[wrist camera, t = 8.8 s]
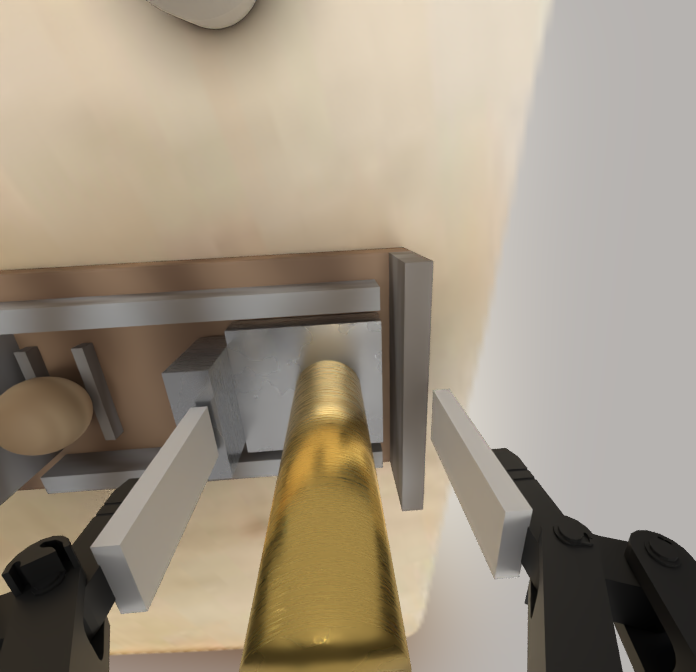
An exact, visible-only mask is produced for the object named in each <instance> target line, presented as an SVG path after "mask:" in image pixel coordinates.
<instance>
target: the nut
mask: <svg viewBox="0 0 696 672" xmlns="http://www.w3.org/2000/svg"><path fill="white" fill-rule="evenodd" d="M92 415H93V404H92V400H91V398H90V396H89V394H88V393H87V392H86V390H85V389H84V388H83V387H81V386H80V385H79V384H77V383H75V382H73V381H71V380H68V379H65V378H60V377H37V378H32V379H29V380H25V381H23V382H20V383H18V384H16V385H14V386H12V387H11V388H9V389H8V390H6V391H5V392H4V393H3V394H2V395H1V396H0V446H1V447H2V448H4V449H6V450H8V451H10V452H12V453H16V454H20V455H31V456H34V455H44V454H49V453H52V452H56V451H58V450H61V449H63V448H65V447H67V446H69V445H70V444H72V443H73V442H75V441H76V440H77V439H78V438H79V437H80V436H81V435H82V434H83V433H84V432H85V431H86V429H87V428H88V426H89V424H90V422H91V419H92Z"/></svg>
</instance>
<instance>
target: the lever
mask: <svg viewBox="0 0 696 672" xmlns="http://www.w3.org/2000/svg"><path fill="white" fill-rule="evenodd" d="M224 333H225V336H213V337H199V338H198V339H197V340H196V341H195V342H194V343H193V344H192V345H191V346H190V347H189V348H188V349H187V350H186V351H185V352H184V353H182V354H181V355H180V356H179V357H178V358H177V359H176V360H175V361H174V362H173V363H172V364H171V365H170V366H169V367H168V368H167V369H166V370H165V371H164V372H162V373H161V374H162V377H163V381H164V385H165V388H166V392H167V395H168V399H169V402H170V406H171V409H172V413H173V416H174V420H175V423H176V427H177V425H178V424H179V423H180V421H181V420H182V418H183V417H184V416H185V414H186V413H187V412H188V410H189V409H190V408H192V407H205V406H207V407H208V411H209V415H210V420H211V424H212V428H213V432H214V437H215V441H216V445H217V449H218V454H219V456H218V458H217V460H216V463H215V465H214V467H213V469H212V471H211V474H210V476H209V478H208V480H213V479H226V478H233V475H234V472H235V470H236V467H237V464H238V461H239V459H240V456H241V453H242V451H243V448H244V445H245V442H246V445H247V450H248V452H262V451H275V450H283V452H282V457H281V462H280V467H279V472H278V477H277V482H276V487H275V492H274V497H273V502H272V508H271V513H270V518H269V523H268V528H267V533H266V538H265V543H264V548H263V553H262V558H261V563H260V568H259V573H258V578H257V583H256V588H255V593H254V598H253V603H252V608H251V613H250V618H249V624H248V629H247V634H246V639H245V644H244V649H243V654H242V659H241V664H240V669H239V672H411V664H410V658H409V653H408V647H407V641H406V636H405V630H404V625H403V619H402V614H401V608H400V602H399V597H398V591H397V586H396V580H395V575H394V569H393V563H392V558H391V552H390V547H389V541H388V536H387V530H386V524H385V519H384V513H383V508H382V502H381V497H380V491H379V485H378V480H377V474H376V469H375V463H374V458H373V452H372V446H371V443H380V442H383V401H382V334H381V319H380V317H379V315H378V313H377V312H375V313H359V314H343V315H328V316H312V317H296V318H280V319H265V320H249V321H233V322H232V323H231V324H230V325H229V327H228V328H227V329H226V330H225V331H224Z"/></svg>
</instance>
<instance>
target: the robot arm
mask: <svg viewBox="0 0 696 672" xmlns="http://www.w3.org/2000/svg"><path fill="white" fill-rule="evenodd" d="M431 440H432V442H433V445H434V447H435V449H436V451H437V453H438V456H439V458H440V460H441V462H442V464H443V467H444V469H445V471H446V473H447V476H448V478H449V480H450V482H451V484H452V487H453V489H454V491H455V493H456V495H457V497H458V500H459V502H460V504H461V506H462V509H463V511H464V513H465V515H466V517H467V520H468V522H469V524H470V526H471V528H472V531H473V533H474V535H475V537H476V539H477V542H478V544H479V546H480V548H481V550H482V553H483V555H484V557H485V559H486V562H487V564H488V566H489V568H490V570H491V573H492V575H493V577H494V579H503V578H514V577H519V575H520V570H521V565H523V567H524V568H525V570H526V572H527V574H528V575H529V577H530V581H529V586H528V591H527V595H526V599H525V604H528V663H527V669H528V670H527V672H623V671H622V665H621V661H620V655H619V650H618V645H617V640H616V634H615V629H614V624H615V627H616V629H617V631H618V634H619V636H620V638H621V641H622V643H623V645H624V648H625V650H626V652H627V655H628V657H629V659H630V662H631V664H632V666H633V669H634V671H635V672H696V561H695V560H694V559H693V557H692V556H691V555H690V554H689V553H688V552H687V551H686V550H685V549H684V548H683V547H681V546H680V545H678V544H677V543H676V542H674V541H673V540H671V539H669V538H667V537H665V536H663V535H661V534H658V533H655V532H651V531H647V530H638V531H635V532H633V533H631V535H630V538H629V541H628V542H627V541H622V540H617V539H612V538H607V537H601V536H598V535H595V534H592V533H591V531H590V530H589V529H588V528H587V527H586V526H584V525H583V524H581V523H580V522H579V521H577V520H575V519H572V518H570V517H568V516H564V515H563V514H562V512H561V511H560V510H559V508H558V507H557V506H556V504H555V503H554V502H553V501H552V499H551V498H550V497H549V496H548V494H547V493H546V492H545V491H544V489H543V488H542V487H541V485H540V484H539V483H538V481H537V480H535V479H534V476H533V475H532V474H531V472H530V471H529V470H527V467H526V466H525V465H524V464H523V462H522V461H521V460H520V458H519V457H518V456H516V455H515V454H513V453H512V452H511V451H509V450H508V449H506V448H501V449H491V448H490V447H489V446H488V444H487V443H486V441H485V440H484V438H483V437H482V435H481V434H480V432H479V431H478V430H477V428H476V427H475V425H474V424H473V422H472V421H471V419H470V418H469V416H468V415H467V414H466V412H465V411H464V409H463V408H462V406H461V405H460V403H459V402H458V401H457V399H456V398H455V396H454V395H453V393H452V392H451V390H450V389H441V390H433V405H432V426H431ZM218 456H219V454H218V449H217V445H216V441H215V437H214V432H213V428H212V424H211V420H210V415H209V411H208V407H207V406H205V407H192V408H190V409H189V410H188V412H187V413H186V414H185V416H184V417H183V418H182V420H181V421H180V423H179V424H178V425H177V427H176V428H175V430H174V431H173V432H172V434H171V435H170V437H169V438H168V439H167V441H166V442H165V444H164V445H163V446H162V448H161V449H160V451H159V452H158V453H157V455H156V456H155V458H154V459H153V460H152V462H151V463H150V465H149V466H148V467H147V469H146V470H145V471H144V473H143V474H142V476H141V477H140V478H132V479H128V480H127V481H126V482H124V483H123V484H122V485H121V486H120V487H118V488H117V489H116V490H115V491H114V492H113V493H112V494H111V496H110V497H109V498H108V500H107V501H106V502H105V505H104V506H102V507H101V509H100V510H99V511H98V513H97V514H96V517H94V518H93V519H92V520H91V522H90V523H89V524H88V525H87V527H86V528H85V529H84V531H83V532H82V533H81V534H80V536H79V537H78V538H77V540H76V541H75V542H74V543H73V545H71V543H70V541H69V539H68V538H66V537H64V536H52V537H49V538H45V539H42V540H40V541H38V542H36V543H34V544H33V545H31V546H29V547H27V548H26V549H25V550H23V551H22V552H21V553H19V554H18V555H17V556H16V557H15V558H14V559H13V560H12V561H11V562H10V563H9V564H8V565H7V566H6V568H5V570H4V572H3V573H2V577H3V578H4V580H5V581H6V583H7V585H8V586H9V588H10V589H11V591H12V592H9V593H6V594H3V595H0V672H109V648H110V625H109V621H108V618H107V615H108V613H109V611H110V609H111V607H112V606H113V604H114V602H116V604H117V606H118V609H119V611H120V613H121V614H125V613H135V612H146V611H148V609H149V607H150V605H151V603H152V600H153V598H154V596H155V594H156V592H157V590H158V587H159V585H160V583H161V581H162V579H163V576H164V574H165V572H166V570H167V568H168V565H169V563H170V561H171V559H172V557H173V555H174V552H175V550H176V548H177V546H178V544H179V541H180V539H181V537H182V535H183V533H184V530H185V528H186V526H187V524H188V522H189V519H190V517H191V515H192V513H193V511H194V509H195V506H196V504H197V502H198V500H199V498H200V495H201V493H202V491H203V489H204V487H205V484H206V482H207V480H208V478H209V476H210V474H211V471H212V469H213V467H214V465H215V463H216V460H217V458H218ZM613 622H614V624H613Z"/></svg>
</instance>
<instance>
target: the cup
mask: <svg viewBox="0 0 696 672" xmlns="http://www.w3.org/2000/svg"><path fill="white" fill-rule="evenodd" d="M147 1H148V2H149V3H151V4H152V5H154V6H155V7H157V8H158V9H160V10H162V11H164V12H166V13H168V14H171V15H173V16H176V17H178V18H180V19H183V20H185V21H188V22H190V23H193V24H195V25H198V26H200V27H204V28H209V29H221V28H226V27H229V26H232V25H234V24H236V23H237V22H239V21H240V20H241V19H243V18H244V17H245V16H246V15H247V14H248V13H249V11H250V10H251V8H252V7H253V5H254V4H255V2H256V0H147Z"/></svg>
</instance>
